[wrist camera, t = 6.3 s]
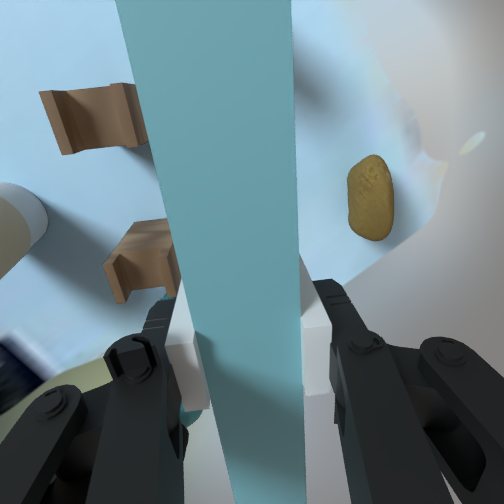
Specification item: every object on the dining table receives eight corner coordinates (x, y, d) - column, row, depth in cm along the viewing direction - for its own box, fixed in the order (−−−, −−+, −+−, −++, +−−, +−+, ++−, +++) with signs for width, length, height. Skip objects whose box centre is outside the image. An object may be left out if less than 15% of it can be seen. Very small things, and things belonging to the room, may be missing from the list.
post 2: (143, 253, 36) (116, 303, 28) (134, 222, 35) (102, 265, 26) (188, 247, 37) (176, 296, 28) (181, 216, 35) (166, 257, 26)
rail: (235, 425, 17) (237, 514, 13) (157, 24, 9) (108, -28, 5) (289, 418, 17) (306, 504, 13) (264, 13, 9) (289, -47, 5)
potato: (357, 230, 37) (388, 262, 30) (311, 195, 35) (333, 221, 28) (400, 184, 35) (445, 206, 28) (354, 143, 33) (390, 156, 26)
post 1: (109, 138, 31) (61, 155, 22) (96, 93, 29) (38, 91, 20) (163, 132, 31) (138, 146, 22) (154, 87, 29) (122, 82, 20)
